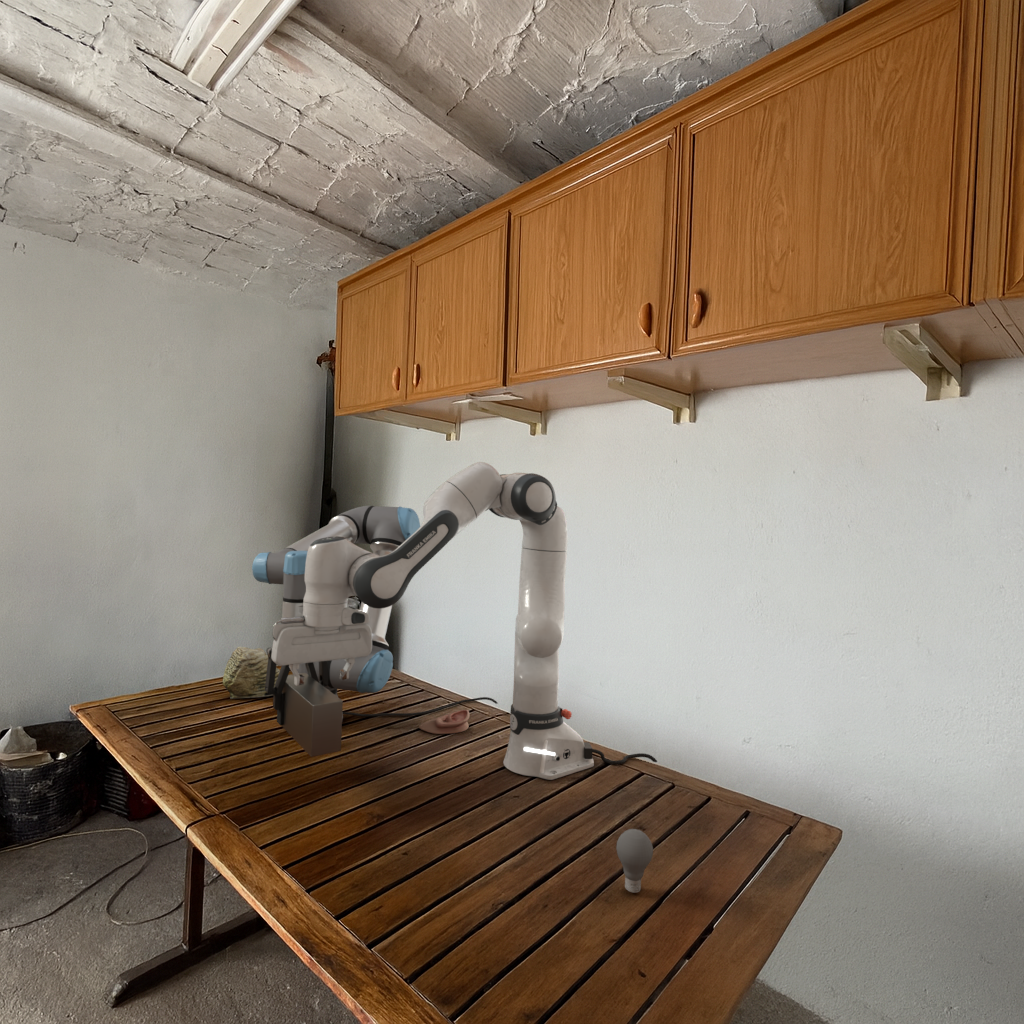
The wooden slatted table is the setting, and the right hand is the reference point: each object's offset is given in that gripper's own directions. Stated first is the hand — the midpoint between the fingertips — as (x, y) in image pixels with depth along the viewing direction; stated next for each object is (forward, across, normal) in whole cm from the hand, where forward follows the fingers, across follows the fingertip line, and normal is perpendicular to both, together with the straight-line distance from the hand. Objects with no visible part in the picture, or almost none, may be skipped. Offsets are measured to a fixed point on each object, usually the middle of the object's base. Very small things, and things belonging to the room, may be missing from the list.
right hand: (321, 681), depth 131 cm
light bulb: (+25, +34, -57) cm, 71 cm away
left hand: (+13, 0, +16) cm, 20 cm away
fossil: (+26, +7, +77) cm, 82 cm away
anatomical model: (+25, +44, +24) cm, 56 cm away
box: (+14, 0, +8) cm, 16 cm away
